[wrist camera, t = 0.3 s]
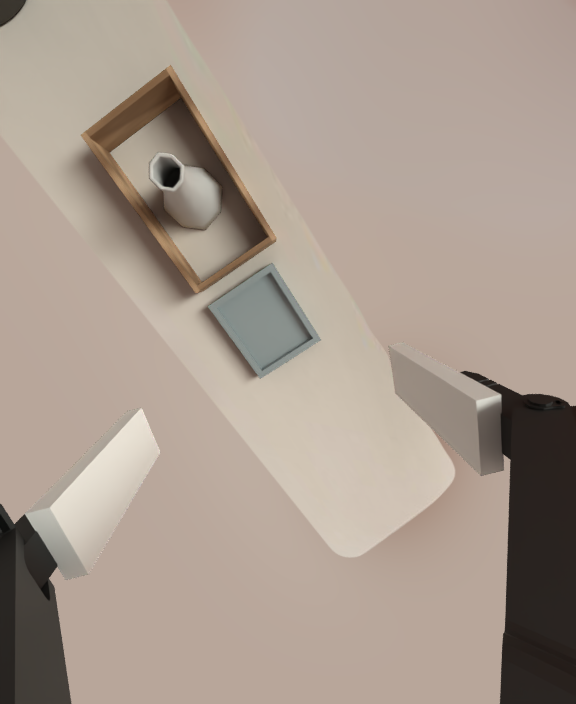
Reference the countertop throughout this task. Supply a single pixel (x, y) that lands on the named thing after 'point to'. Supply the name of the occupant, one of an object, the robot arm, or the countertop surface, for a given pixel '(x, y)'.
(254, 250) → the caddy
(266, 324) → the tray
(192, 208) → the flask
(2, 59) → the countertop surface
